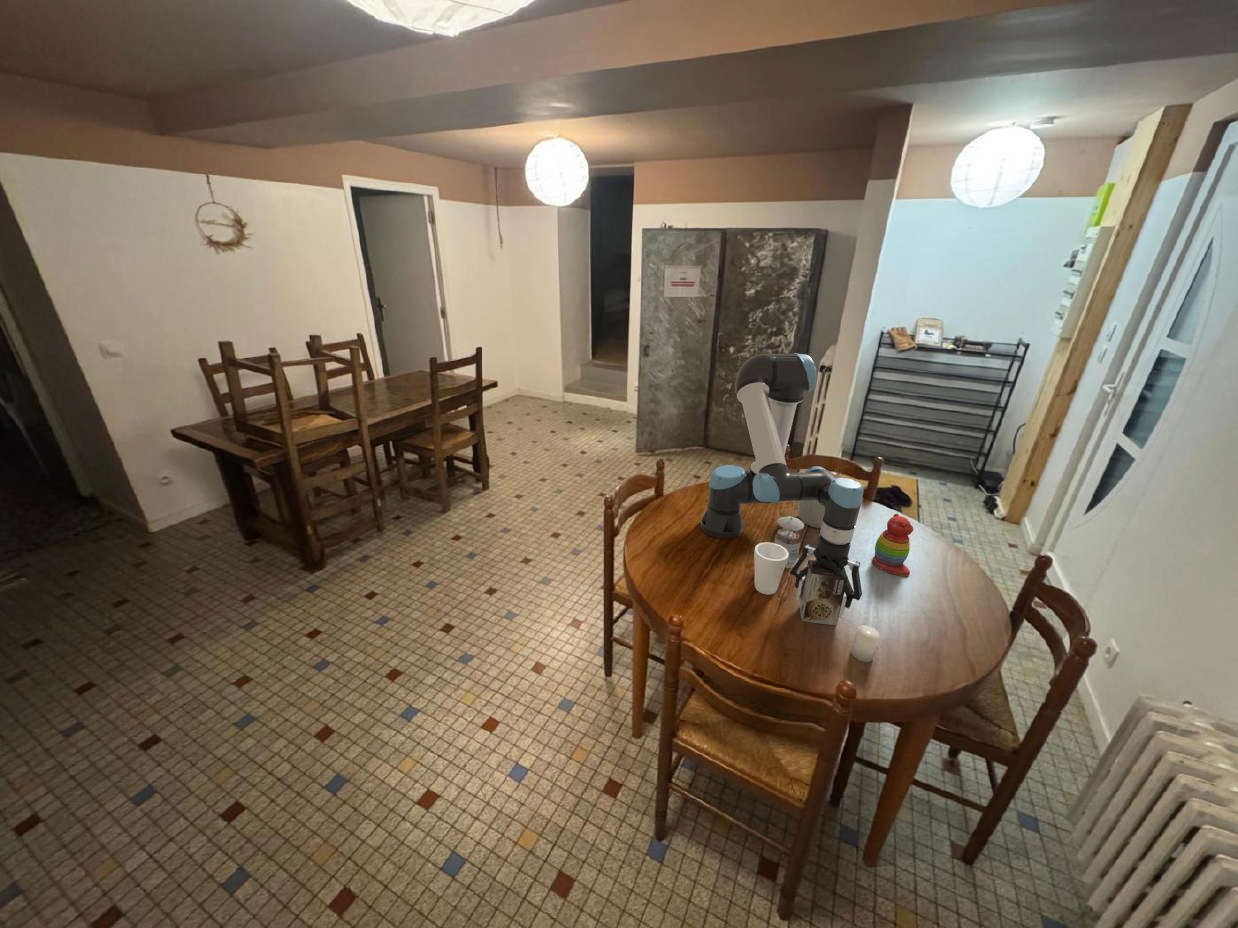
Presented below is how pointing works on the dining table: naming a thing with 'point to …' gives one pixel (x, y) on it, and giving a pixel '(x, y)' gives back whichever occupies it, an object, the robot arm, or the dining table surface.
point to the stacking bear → (893, 546)
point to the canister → (812, 511)
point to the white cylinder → (865, 643)
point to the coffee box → (822, 595)
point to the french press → (789, 537)
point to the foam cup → (769, 566)
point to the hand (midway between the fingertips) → (819, 606)
